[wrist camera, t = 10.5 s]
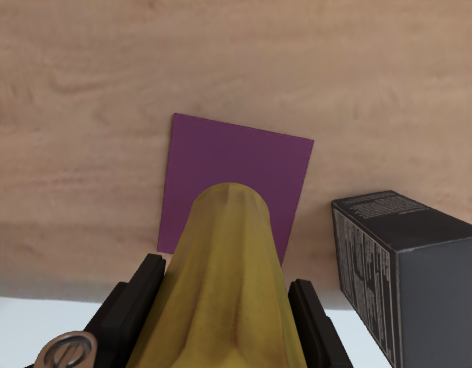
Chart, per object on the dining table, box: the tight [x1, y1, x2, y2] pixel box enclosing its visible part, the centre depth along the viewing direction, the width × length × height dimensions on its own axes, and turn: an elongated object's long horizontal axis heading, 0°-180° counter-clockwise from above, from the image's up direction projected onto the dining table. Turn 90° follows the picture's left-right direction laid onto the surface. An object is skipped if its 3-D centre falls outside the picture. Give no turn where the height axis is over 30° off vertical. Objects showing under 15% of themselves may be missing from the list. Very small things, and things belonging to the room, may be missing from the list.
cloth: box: [157, 113, 314, 267], centre depth 25 cm, size 14×13×1 cm
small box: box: [331, 191, 472, 368], centre depth 21 cm, size 11×6×10 cm, turn 11°
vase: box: [125, 182, 307, 368], centre depth 12 cm, size 6×6×14 cm
